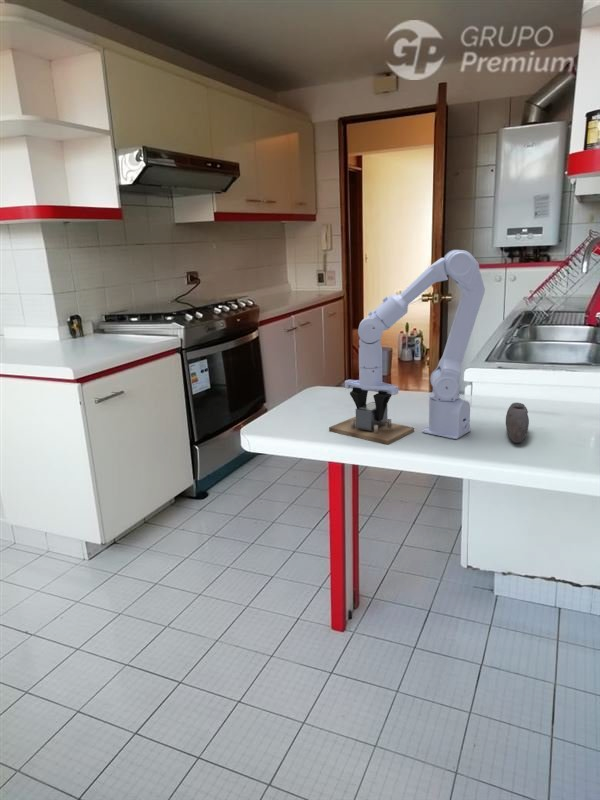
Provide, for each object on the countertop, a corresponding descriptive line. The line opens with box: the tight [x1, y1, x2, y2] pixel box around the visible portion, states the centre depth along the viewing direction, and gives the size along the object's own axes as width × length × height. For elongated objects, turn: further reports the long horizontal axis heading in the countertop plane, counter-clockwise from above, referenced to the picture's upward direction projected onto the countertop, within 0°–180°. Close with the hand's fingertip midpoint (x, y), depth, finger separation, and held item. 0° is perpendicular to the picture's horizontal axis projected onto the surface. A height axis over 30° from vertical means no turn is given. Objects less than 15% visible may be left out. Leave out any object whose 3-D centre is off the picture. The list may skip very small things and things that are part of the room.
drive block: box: [355, 401, 388, 431], centre depth 143 cm, size 4×8×5 cm, turn 142°
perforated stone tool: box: [505, 402, 530, 444], centre depth 134 cm, size 15×5×7 cm, turn 159°
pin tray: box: [328, 416, 415, 446], centre depth 144 cm, size 18×12×3 cm, turn 48°
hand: (371, 418), depth 143 cm, fingers closed on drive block, 4 cm apart
